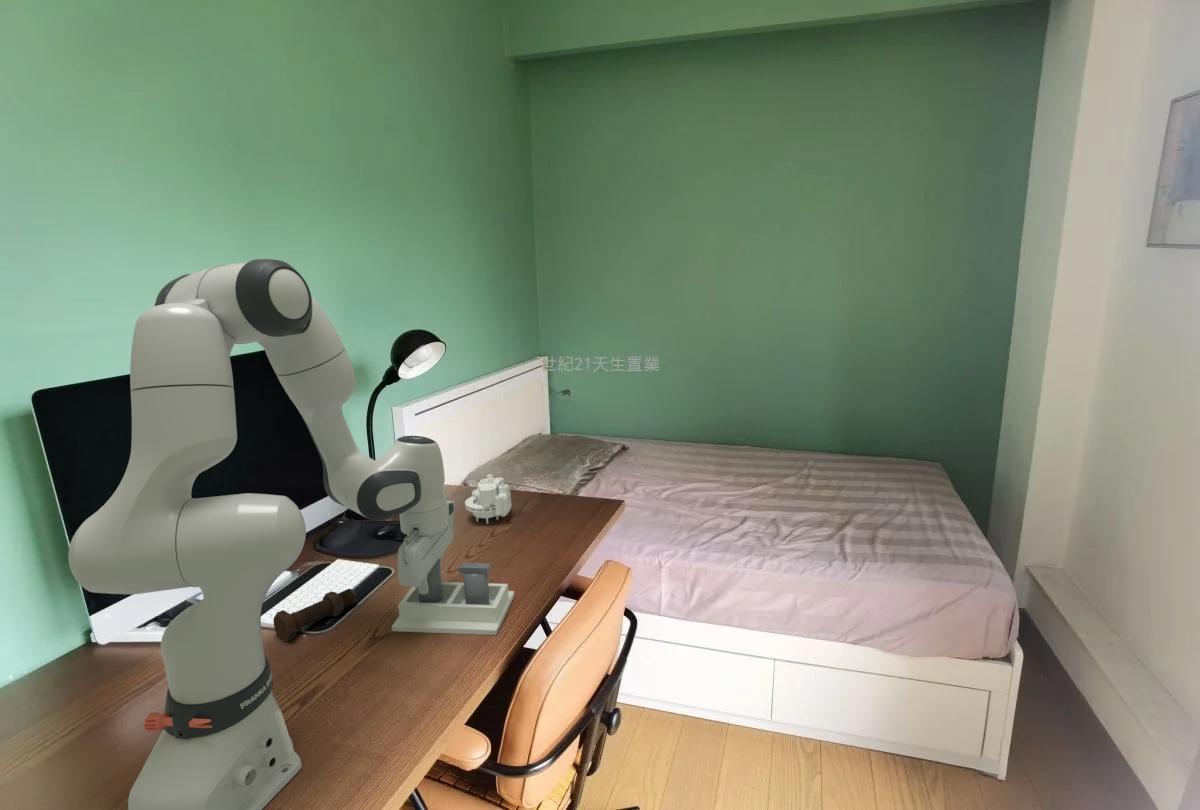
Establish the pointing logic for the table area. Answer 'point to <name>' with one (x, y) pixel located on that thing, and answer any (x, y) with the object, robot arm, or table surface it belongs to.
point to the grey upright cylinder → (433, 586)
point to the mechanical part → (490, 499)
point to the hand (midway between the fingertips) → (430, 584)
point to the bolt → (312, 613)
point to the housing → (458, 606)
